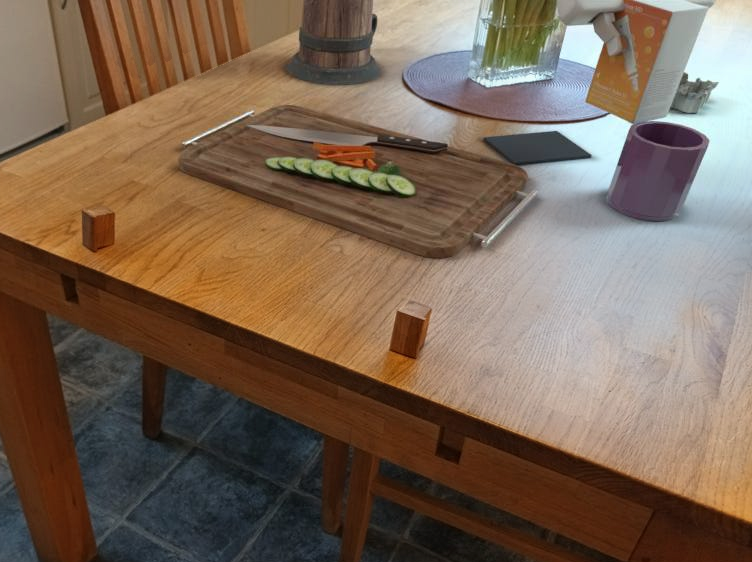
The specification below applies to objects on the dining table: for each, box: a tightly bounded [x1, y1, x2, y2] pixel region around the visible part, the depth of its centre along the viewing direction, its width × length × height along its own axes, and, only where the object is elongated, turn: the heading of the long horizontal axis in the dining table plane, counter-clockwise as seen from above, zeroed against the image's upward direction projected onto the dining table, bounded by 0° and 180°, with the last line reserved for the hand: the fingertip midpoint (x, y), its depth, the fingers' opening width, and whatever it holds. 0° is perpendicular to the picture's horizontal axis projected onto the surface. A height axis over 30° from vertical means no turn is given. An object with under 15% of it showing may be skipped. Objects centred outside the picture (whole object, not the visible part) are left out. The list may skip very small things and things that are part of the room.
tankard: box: [286, 0, 381, 86], centre depth 125 cm, size 24×17×20 cm
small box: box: [585, 0, 710, 125], centre depth 88 cm, size 8×6×13 cm
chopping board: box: [178, 104, 538, 259], centre depth 94 cm, size 45×27×3 cm, turn 54°
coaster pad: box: [483, 130, 593, 166], centre depth 103 cm, size 12×9×1 cm
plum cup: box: [605, 120, 710, 222], centre depth 87 cm, size 9×9×9 cm
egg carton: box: [670, 71, 719, 114], centre depth 117 cm, size 11×8×4 cm
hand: (648, 51), depth 87 cm, fingers closed on small box, 7 cm apart
